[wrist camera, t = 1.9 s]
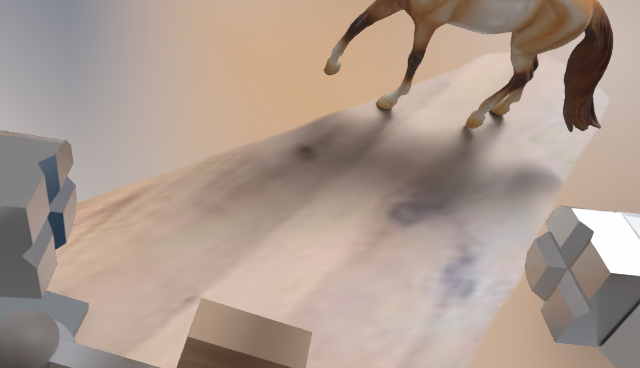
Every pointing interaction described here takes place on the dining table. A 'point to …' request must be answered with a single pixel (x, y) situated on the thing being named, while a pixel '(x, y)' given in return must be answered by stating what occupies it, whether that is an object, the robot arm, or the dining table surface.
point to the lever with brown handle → (197, 356)
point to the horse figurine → (526, 42)
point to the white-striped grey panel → (51, 311)
